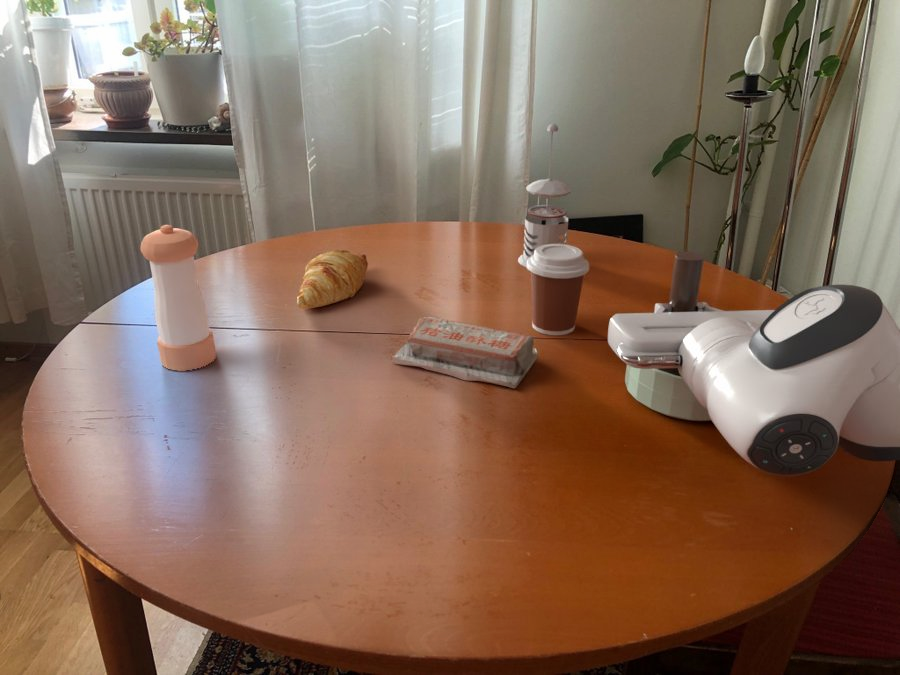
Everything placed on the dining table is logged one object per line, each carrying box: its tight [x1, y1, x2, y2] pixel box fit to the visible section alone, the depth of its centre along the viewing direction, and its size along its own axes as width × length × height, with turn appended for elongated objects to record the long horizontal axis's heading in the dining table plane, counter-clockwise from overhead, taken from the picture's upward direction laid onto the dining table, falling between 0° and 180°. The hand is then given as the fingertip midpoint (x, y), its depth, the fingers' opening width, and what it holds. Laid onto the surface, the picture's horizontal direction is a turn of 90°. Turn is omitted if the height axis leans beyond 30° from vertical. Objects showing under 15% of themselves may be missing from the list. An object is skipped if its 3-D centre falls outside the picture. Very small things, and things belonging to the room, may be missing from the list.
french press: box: [517, 123, 573, 268], centre depth 134 cm, size 10×12×25 cm
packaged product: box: [391, 316, 539, 389], centre depth 101 cm, size 18×5×10 cm
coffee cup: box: [526, 243, 590, 336], centre depth 110 cm, size 9×9×12 cm
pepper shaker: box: [139, 224, 217, 372], centre depth 98 cm, size 7×7×19 cm
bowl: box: [624, 364, 712, 422], centre depth 93 cm, size 15×15×6 cm
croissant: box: [296, 250, 369, 310], centre depth 124 cm, size 21×10×8 cm, turn 160°
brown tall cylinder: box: [658, 250, 705, 376], centre depth 89 cm, size 4×4×16 cm
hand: (679, 308), depth 89 cm, fingers closed on brown tall cylinder, 3 cm apart
